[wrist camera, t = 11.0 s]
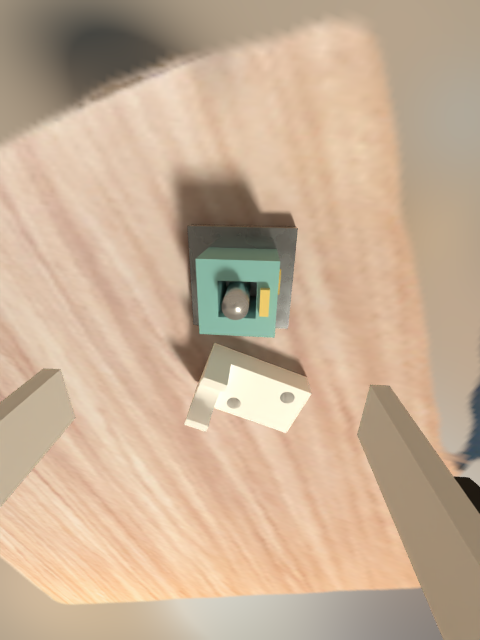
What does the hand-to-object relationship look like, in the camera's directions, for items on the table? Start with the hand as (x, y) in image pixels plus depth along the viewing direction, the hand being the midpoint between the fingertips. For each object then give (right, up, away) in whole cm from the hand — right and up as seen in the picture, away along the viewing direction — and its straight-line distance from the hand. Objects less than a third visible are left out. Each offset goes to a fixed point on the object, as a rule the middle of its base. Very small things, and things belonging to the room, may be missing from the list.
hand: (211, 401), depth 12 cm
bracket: (+3, -4, +25) cm, 25 cm away
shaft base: (+1, +8, +19) cm, 21 cm away
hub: (+1, +8, +17) cm, 19 cm away
